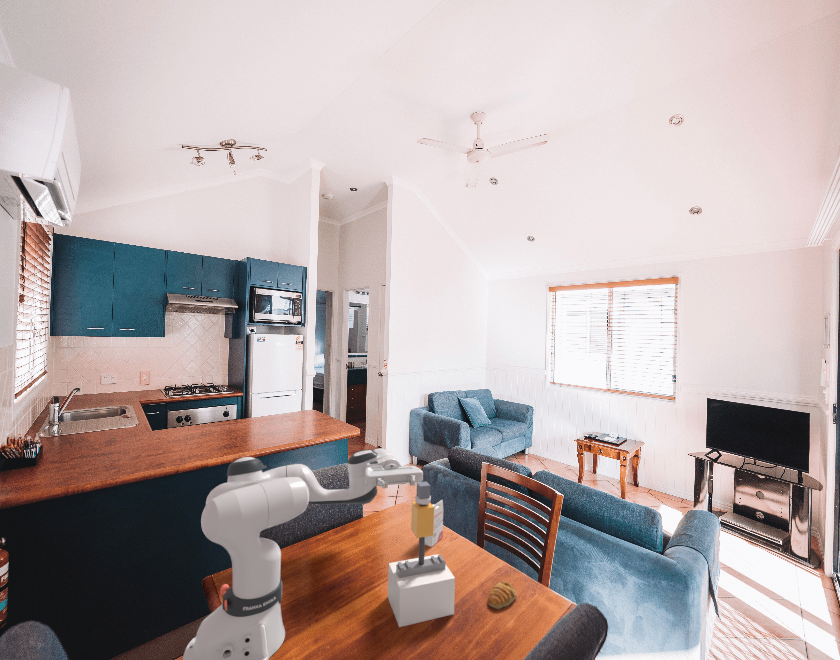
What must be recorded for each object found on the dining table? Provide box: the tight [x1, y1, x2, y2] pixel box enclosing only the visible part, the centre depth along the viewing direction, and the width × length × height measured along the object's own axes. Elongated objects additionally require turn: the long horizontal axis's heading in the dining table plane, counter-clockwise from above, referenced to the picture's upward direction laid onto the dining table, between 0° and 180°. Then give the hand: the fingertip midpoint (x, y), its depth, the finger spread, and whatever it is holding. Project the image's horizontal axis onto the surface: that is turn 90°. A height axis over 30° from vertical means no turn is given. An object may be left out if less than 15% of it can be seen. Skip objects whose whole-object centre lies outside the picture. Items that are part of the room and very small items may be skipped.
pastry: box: [487, 580, 517, 610], centre depth 111 cm, size 9×7×4 cm
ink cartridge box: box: [424, 499, 444, 547], centre depth 143 cm, size 9×5×15 cm, turn 147°
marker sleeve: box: [410, 500, 434, 539], centre depth 108 cm, size 5×5×8 cm
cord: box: [414, 481, 432, 565], centre depth 108 cm, size 4×4×25 cm
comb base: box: [387, 553, 456, 628], centre depth 108 cm, size 16×12×13 cm
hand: (399, 484), depth 123 cm, fingers open, 8 cm apart
